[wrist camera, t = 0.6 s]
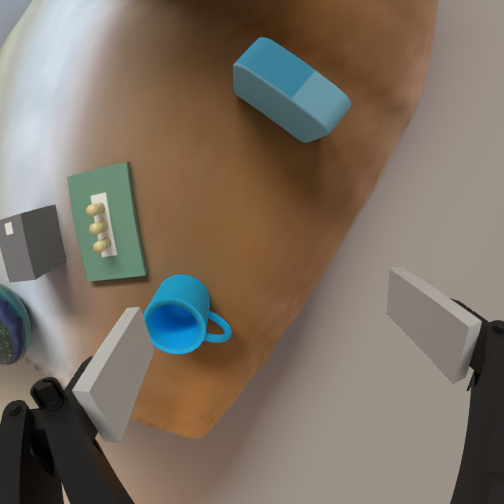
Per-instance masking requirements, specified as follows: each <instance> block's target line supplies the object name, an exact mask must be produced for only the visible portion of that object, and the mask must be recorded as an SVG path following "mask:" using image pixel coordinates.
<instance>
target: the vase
mask: <svg viewBox="0 0 504 504" xmlns="http://www.w3.org/2000/svg"><path fill="white" fill-rule="evenodd" d="M30 341H31V322H30V318H29V315H28V312H27V310H26V308H25V306H24V304H23V303H22V301H21V300H20V298H19V297H18V296H17V295H16V294H15V293H14V292H13V291H12V290H11V289H9V288H8V287H6V286H4V285H1V284H0V364H4V365H10V364H14V363H16V362H18V361H19V360H21V359H22V358H23V356H24V355H25V354H26V352H27V350H28V348H29V345H30Z"/></svg>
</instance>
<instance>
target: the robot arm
mask: <svg viewBox="0 0 504 504" xmlns="http://www.w3.org/2000/svg"><path fill="white" fill-rule="evenodd" d="M387 314H388V315H389V317H390V318H391V319H392V320H393V321H394V322H395V323H396V324H397V325H398V326H399V327H400V328H401V329H402V330H403V331H404V332H405V333H406V334H407V335H408V336H409V337H410V338H411V339H412V340H413V341H414V342H415V343H416V345H417V346H419V348H420V349H421V350H422V351H423V352H424V353H425V354H426V355H427V356H428V357H429V358H430V359H431V360H432V362H433V363H434V364H435V365H436V366H437V367H438V368H439V369H440V370H441V371H442V373H443V374H444V375H445V376H446V377H447V378H448V379H449V380H450V381H451V383H455V382H457V381H459V380H461V379H463V378H465V377H466V374H467V371H468V369H469V366H470V367H471V368H472V369H473V370H474V372H473V375H472V378H471V380H470V383H469V386H468V388H467V391H469V389H470V387H471V398H470V408H469V418H468V425H467V432H466V439H465V445H464V450H463V455H462V460H461V465H460V469H459V474H458V478H457V482H456V485H455V489H454V492H453V496H452V499H451V503H450V504H504V321H500V320H496V321H492V322H490V323H489V322H488V321H487V320H485V319H484V318H483V317H481V316H480V315H478V314H477V313H476V312H474V311H472V310H471V309H470V308H468V307H467V306H465V305H464V304H463V303H461V302H460V301H457V300H454V299H451V298H448V297H447V296H445V295H444V294H442V293H441V292H439V291H438V290H436V289H435V288H433V287H432V286H430V285H429V284H427V283H426V282H424V281H423V280H421V279H420V278H418V277H417V276H415V275H414V274H412V273H411V272H409V271H407V270H406V269H404V268H403V267H395V268H390V269H389V291H388V308H387ZM153 353H154V348H153V345H152V343H151V340H150V337H149V334H148V331H147V328H146V324H145V321H144V318H143V315H142V312H141V308H140V307H133V308H127V309H126V310H125V312H124V313H123V314H122V316H121V317H120V319H119V320H118V321H117V323H116V324H115V326H114V327H113V329H112V330H111V332H110V333H109V334H108V336H107V337H106V339H105V340H104V342H103V343H102V345H101V346H100V348H99V349H98V351H97V352H96V354H95V355H94V357H89V358H88V359H87V360H85V361H84V362H83V363H82V364H81V366H80V367H79V369H78V371H77V372H76V373H75V375H74V377H73V378H72V379H71V381H70V382H69V384H68V385H67V387H66V388H65V390H63V389H62V387H61V385H60V383H59V381H58V380H57V379H56V378H53V377H47V378H44V379H41V380H39V381H37V382H36V383H35V384H34V385H33V386H32V388H31V390H30V394H31V396H32V397H33V399H34V401H35V402H36V404H37V405H38V407H39V408H37V409H29V407H28V406H27V404H26V403H25V402H24V401H22V400H16V401H12V402H11V403H9V404H8V405H7V406H6V408H5V409H4V411H3V415H2V420H1V423H0V504H64V501H63V493H62V484H63V487H64V490H65V492H66V495H67V497H68V500H69V502H70V504H135V503H134V502H133V500H132V499H131V497H130V496H129V494H128V493H127V491H126V490H125V488H124V487H123V485H122V484H121V482H120V481H119V479H118V477H117V476H116V474H115V472H114V470H113V469H112V467H111V465H110V464H109V462H108V460H107V459H106V456H105V455H104V453H103V451H102V449H101V447H100V445H99V443H98V442H97V441H96V440H95V437H96V435H97V432H98V433H99V434H100V435H101V437H102V438H103V440H104V441H110V442H119V443H121V441H122V438H123V434H124V432H125V428H126V426H127V423H128V420H129V417H130V415H131V412H132V409H133V406H134V403H135V401H136V398H137V395H138V392H139V390H140V387H141V384H142V382H143V379H144V377H145V374H146V371H147V369H148V366H149V364H150V361H151V358H152V356H153ZM61 482H62V483H61Z"/></svg>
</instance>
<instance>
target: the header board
mask: <svg viewBox="0 0 504 504" xmlns="http://www.w3.org/2000/svg"><path fill="white" fill-rule="evenodd" d="M67 178H68V186H69V193H70V200H71V206H72V213H73V218H74V224H75V229H76V234H77V239H78V244H79V248H80V253H81V257H82V261H83V265H84V269H85V273H86V277H87V281H88V282H89V281H99V280H109V279H118V278H128V277H137V276H146V274H147V273H148V271H147V267H146V262H145V257H144V252H143V247H142V242H141V236H140V231H139V225H138V219H137V213H136V207H135V200H134V193H133V186H132V178H131V170H130V162H125V163H121V164H116V165H112V166H108V167H104V168H100V169H96V170H92V171H88V172H84V173H81V174H77V175H73V176H70V177H67Z"/></svg>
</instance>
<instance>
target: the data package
mask: <svg viewBox="0 0 504 504" xmlns="http://www.w3.org/2000/svg"><path fill="white" fill-rule="evenodd" d="M233 91H234V92H235V94H236V95H237V96H239V97H240V98H241V99H243V100H244V101H246V102H247V103H249V104H250V105H251V106H253V107H254V108H256V109H257V110H259V111H260V112H261V113H263V114H264V115H266V116H267V117H268V118H270V119H271V120H272V121H274V122H275V123H277V124H278V125H279V126H281V127H282V128H283V129H285V130H286V131H287V132H288V133H290V134H291V135H292V136H294V137H295V138H296V139H298V140H299V141H301V142H304V143H308V142H311V141H313V140H316V139H318V138H321V137H324V136H326V135H329V134H330V132H331V131H332V130H333V129H334V127H335V126H336V125H337V123H338V122H339V121H340V120H341V118H342V117H343V116H344V114H345V113H346V112H347V111H348V109H349V108H350V107H351V102H350V100H349V98H348V97H347V95H346V94H345V93H343V92H342V91H341V90H340V89H339V88H337V87H336V86H335V85H334V84H332V83H331V82H330V81H329V80H327V79H326V78H325V77H324V76H322V75H321V74H320V73H318V72H317V71H316V70H314V69H313V68H312V67H310V66H309V65H308V64H306V63H305V62H304V61H302V60H301V59H299V58H298V57H297V56H295V55H294V54H292V53H291V52H289V51H288V50H286V49H285V48H283V47H282V46H280V45H279V44H277V43H276V42H274V41H272V40H271V39H268V38H265V37H260V38H258V39H257V40H256V41H255V42H254V43H253V44H252V45H251V46H250V47H249V48H248V49H247V50H246V52H245V53H244V54H243V55H242V56H241V57H240V58H239V59H238V60H237V61H236V62H235V63H234V65H233Z"/></svg>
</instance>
